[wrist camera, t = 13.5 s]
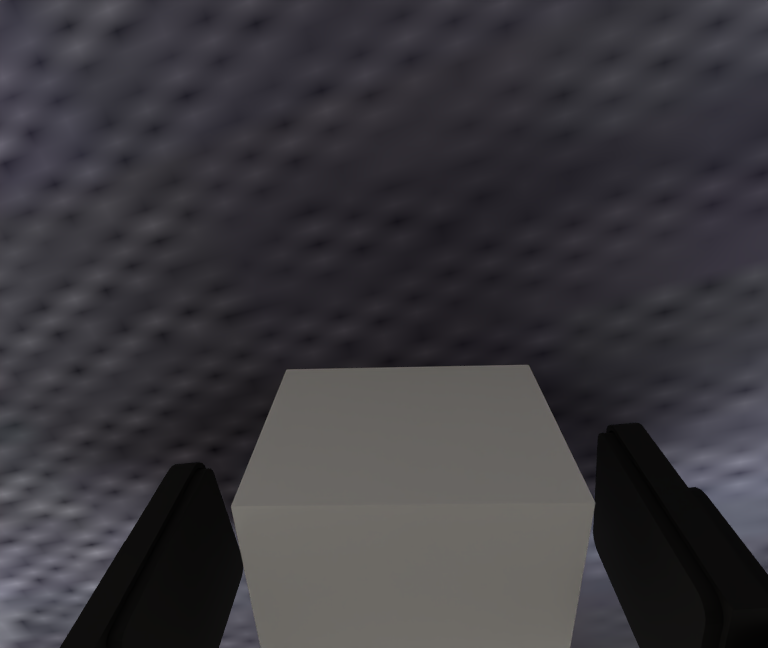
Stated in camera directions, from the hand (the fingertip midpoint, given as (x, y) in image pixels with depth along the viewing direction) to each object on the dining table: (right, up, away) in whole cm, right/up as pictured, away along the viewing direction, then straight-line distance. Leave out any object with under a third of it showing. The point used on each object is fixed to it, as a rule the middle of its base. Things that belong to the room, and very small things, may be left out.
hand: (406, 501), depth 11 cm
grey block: (0, +1, +1) cm, 1 cm away
